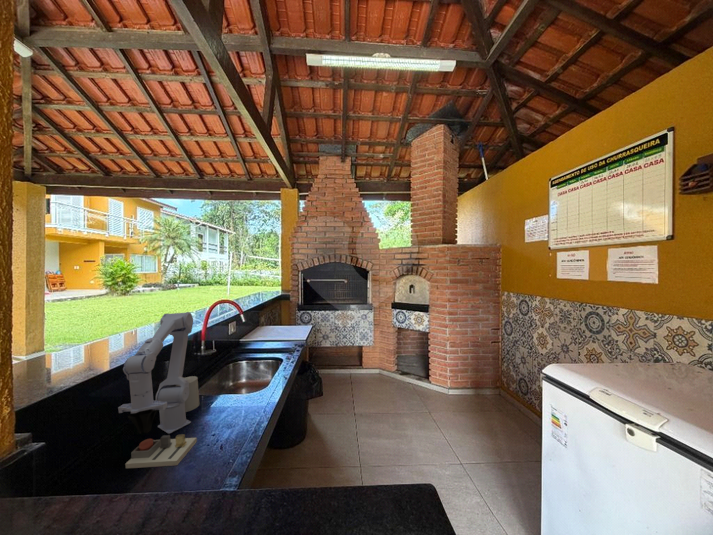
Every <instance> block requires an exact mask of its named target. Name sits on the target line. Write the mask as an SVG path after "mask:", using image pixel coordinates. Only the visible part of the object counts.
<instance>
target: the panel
mask: <svg viewBox="0 0 713 535" xmlns="http://www.w3.org/2000/svg"><path fill="white" fill-rule="evenodd" d="M170 440H171V442H172V444H171V445H170V446H169V448H160V446H161V439H153V446H152V447H151V448H150V449H149V450H145V451H140V448H139V445H138V446H137V447H135V448H134V449H133V450H132V451H131V452H130V455H131V456H130V459H129V460H128V461H126V463H125V464H124V465H125V469H138V468H139V469H140V468H141V469H142V468H157V467H169V466H172V467H173V466H178V465H179V464H180V462H182V460H183V459H184V458H185V457H186V455H187V454H188V453H189V452H190V451H191V449H192V448H193V447H194V446H195V445H196V443H197V442H198V438H197V437H185V442H187V443H186V444H185V445H184V447H175V445H176V438H170Z"/></svg>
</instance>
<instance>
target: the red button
mask: <svg viewBox="0 0 713 535" xmlns="http://www.w3.org/2000/svg"><path fill="white" fill-rule="evenodd" d="M153 440H154V439H153V438H147V439H144V440H142V441H141V442H139V443H138V444H139V445H138V446H139V448H140V451H145V450H149V449H150V448H151V447H152V446H153Z"/></svg>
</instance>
